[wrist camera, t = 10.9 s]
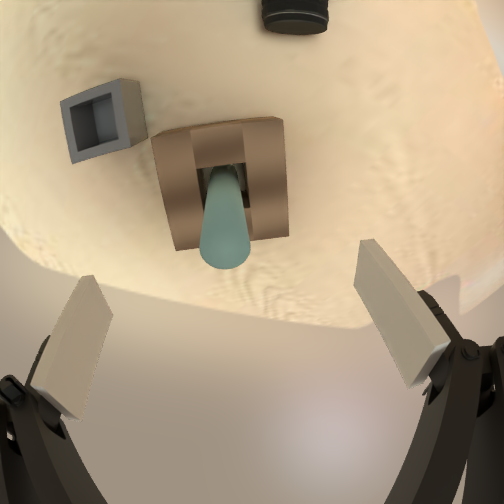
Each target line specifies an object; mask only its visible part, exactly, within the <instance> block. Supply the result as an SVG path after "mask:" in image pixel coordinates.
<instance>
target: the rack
mask: <svg viewBox="0 0 504 504" xmlns="http://www.w3.org/2000/svg"><path fill="white" fill-rule="evenodd" d="M151 143H152V149H153V154H154V159H155V164H156V169H157V174H158V179H159V183H160V188H161V192H162V197H163V201H164V206H165V210H166V214H167V218H168V222H169V226H170V230H171V234H172V238H173V242H174V246H175V250H176V251H179V250H187V249H194V248H199V246H200V238H201V231H202V224H203V217H204V210H205V204H206V198H207V196H206V190H205V184H204V178H203V172H202V168H206V167H213V166H220V165H227V164H235V163H244V172H245V181H246V191H245V192H241V196H242V202H243V207H244V213H245V218H246V224H247V229H248V234H249V240H250V241H255V240H263V239H271V238H278V237H286V236H289V220H288V196H287V176H286V158H285V142H284V127H283V120H282V119H279V118H276V117H261V118H250V119H240V120H231V121H223V122H216V123H209V124H202V125H196V126H190V127H185V128H179V129H174V130H169V131H164V132H161V133H159V134H157V135H156V136H154V137H152V138H151Z"/></svg>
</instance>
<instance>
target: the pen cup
mask: <svg viewBox="0 0 504 504" xmlns="http://www.w3.org/2000/svg"><path fill="white" fill-rule="evenodd" d="M60 105H61V112H62V118H63V124H64V129H65V134H66V139H67V144H68V149H69V153H70V157H71V162H72V164H75V163H78V162H81V161H84V160H87V159H90V158H94V157H97V156H100V155H104V154H107V153H111V152H114V151H118V150H122V149H126V148H130V147H132V146H134V145H136V144H137V143H139V142H141V141H143V140H145V139H146V138H148V136H147V130H146V124H145V118H144V112H143V105H142V98H141V91H140V83H139V82H138V81H132V80H126V79H117V80H114V81H111V82H108V83H105V84H102V85H100V86H97V87H94V88H91V89H89V90H86V91H84V92H81V93H79V94H76V95H74V96H71V97H69V98H67V99H65V100H62V101H60Z"/></svg>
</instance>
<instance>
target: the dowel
mask: <svg viewBox="0 0 504 504" xmlns="http://www.w3.org/2000/svg"><path fill="white" fill-rule="evenodd" d="M199 249H200V254H201V256H202V258H203V259H204V261H205V262H206V263H208V264H209V265H210V266H212V267H215V268H218V269H232V268H235V267H237V266H239V265H241V264H242V263H243V262H244V261H245V260H246V259H247V257H248V256H249V253H250V240H249V234H248V229H247V224H246V218H245V213H244V207H243V202H242V196H241V191H240V185H239V180H238V174H237V170H236V168H235V167H234V166H233V165H232V164H227V165H220V166H214V167H213V168H212V170H211V173H210V179H209V185H208V191H207V198H206V204H205V210H204V217H203V224H202V231H201V238H200V246H199Z"/></svg>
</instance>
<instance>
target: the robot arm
mask: <svg viewBox="0 0 504 504" xmlns="http://www.w3.org/2000/svg"><path fill="white" fill-rule="evenodd" d="M354 287H355V289H356V290H357V292H358V294H359V296H360V297H361V299H362V301H363V303H364V304H365V306H366V308H367V310H368V312H369V313H370V315H371V317H372V319H373V321H374V323H375V325H376V326H377V328H378V330H379V332H380V334H381V335H382V338H383V340H384V342H385V343H386V346H387V347H388V349H389V351H390V353H391V355H392V357H393V359H394V361H395V363H396V365H397V367H398V370H399V372H400V374H401V376H402V378H403V380H404V382H405V384H406V386H407V388H408V389H410V388H412V387H415V386H417V385H420V384H422V383H423V382H424V381H425V380H426V378H427V376H428V375H429V377H430V378H431V382H430V384H429V385H428V386H427V388H426V389H425V390H424V392H423V394H422V395H425V394H426V393H427V396H426V400H425V403H424V407H423V410H422V413H421V417H420V420H419V423H418V426H417V429H416V432H415V435H414V438H413V441H412V443H411V446H410V449H409V451H408V454H407V456H406V458H405V461H404V463H403V466H402V468H401V470H400V472H399V475H398V477H397V479H396V481H395V483H394V485H393V487H392V490H391V491H390V494H389V496H388V497H387V499H386V501H385V503H384V504H452V502H453V500H454V497H455V495H456V491H457V489H458V486H459V483H460V480H461V477H462V474H463V471H464V468H465V464H466V461H467V469H466V479H465V487H464V493H463V499H462V504H504V336H503V337H499V338H498V339H497V340H496V342H495V343H494V344H493V345H492V346H481V347H479V346H478V344H476V343H475V342H474V341H472V340H469V339H463V338H462V337H461V335H460V334H459V332H458V331H457V330H456V328H455V327H454V325H453V324H452V322H451V321H450V320H449V318H448V317H447V315H446V314H444V311H443V310H442V309H441V307H439V305H438V303H437V302H436V301H435V299H434V298H433V297H432V296H431V295H429V294H428V293H427V292H425V291H424V290H421V291H418V292H417V291H416V290H415V289H414V287H413V286H412V285H411V284H410V282H409V281H408V280H407V278H406V277H405V276H404V275H403V273H402V272H401V271H400V270H399V268H398V267H397V266H396V265H395V263H394V262H393V261H392V260H391V258H390V257H389V256H388V255H387V254H386V252H385V251H384V250H383V249H382V248H381V246H380V245H379V244H378V243H377V242H376V241H375V239H368V240H360V246H359V253H358V260H357V267H356V273H355V279H354ZM112 317H113V313H112V311H111V309H110V307H109V306H108V304H107V302H106V300H105V298H104V296H103V294H102V292H101V290H100V288H99V286H98V284H97V282H96V279H95V277H94V275H89V276H82V277H81V279H80V280H79V282H78V284H77V286H76V287H75V289H74V291H73V293H72V295H71V296H70V298H69V300H68V302H67V304H66V306H65V308H64V310H63V311H62V313H61V316H60V317H59V319H58V321H57V324H56V325H55V328H54V329H53V332H52V334H51V335H49V336H48V337H47V338H46V339H45V341H44V342H43V343H42V345H41V347H40V349H39V352H38V354H37V356H36V359H35V361H34V363H33V365H32V368H31V370H30V373H29V375H28V379H27V381H26V383H25V386H23V385H22V384H21V383H20V382H19V381H18V380H17V379H16V378H15V377H14V376H13V375H7V376H5V377H3V379H1V381H0V397H1V398H0V504H107V502H106V500H105V499H104V497H103V496H102V494H101V493H100V491H99V490H98V488H97V486H96V485H95V483H94V482H93V480H92V478H91V477H90V475H89V473H88V471H87V469H86V468H85V466H84V464H83V462H82V460H81V458H80V456H79V454H78V452H77V450H76V448H75V446H74V444H73V442H72V440H71V438H70V436H69V434H68V431H67V429H66V426H65V424H64V422H63V421H62V420H61V419H60V416H61V413H62V414H63V415H64V416H65V417H67V418H68V419H69V420H74V421H79V422H82V420H83V415H84V411H85V407H86V402H87V399H88V395H89V391H90V387H91V383H92V379H93V376H94V372H95V369H96V366H97V362H98V358H99V355H100V352H101V349H102V346H103V343H104V340H105V337H106V334H107V331H108V328H109V325H110V322H111V320H112ZM494 384H495V390H494ZM427 391H428V392H427ZM7 432H8V433H9V434H11V435H12V437H13V439H12V440H10V439H9V438H7Z"/></svg>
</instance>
